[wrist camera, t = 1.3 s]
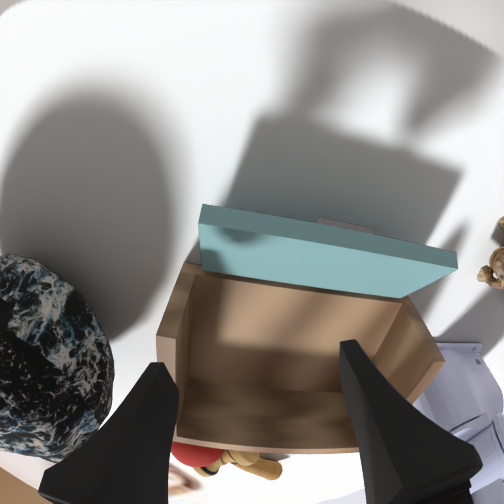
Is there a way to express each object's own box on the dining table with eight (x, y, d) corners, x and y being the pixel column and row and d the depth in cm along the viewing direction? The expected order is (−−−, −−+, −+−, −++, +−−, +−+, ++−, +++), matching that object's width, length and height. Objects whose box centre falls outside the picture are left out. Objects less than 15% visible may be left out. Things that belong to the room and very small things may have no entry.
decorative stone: (91, 386, 28) (48, 502, 15) (-18, 291, 23) (-95, 386, 10) (176, 318, 23) (125, 507, 10) (23, 177, 18) (-132, 287, 4)
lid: (399, 278, 21) (454, 244, 15) (400, 298, 21) (458, 269, 15) (206, 248, 20) (204, 194, 14) (202, 269, 20) (198, 223, 14)
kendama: (300, 444, 35) (209, 402, 27) (299, 487, 31) (199, 464, 22) (253, 450, 39) (158, 408, 30) (249, 488, 34) (146, 460, 25)
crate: (407, 295, 22) (445, 361, 15) (354, 389, 27) (369, 451, 21) (183, 262, 21) (156, 335, 14) (179, 372, 26) (164, 439, 20)
